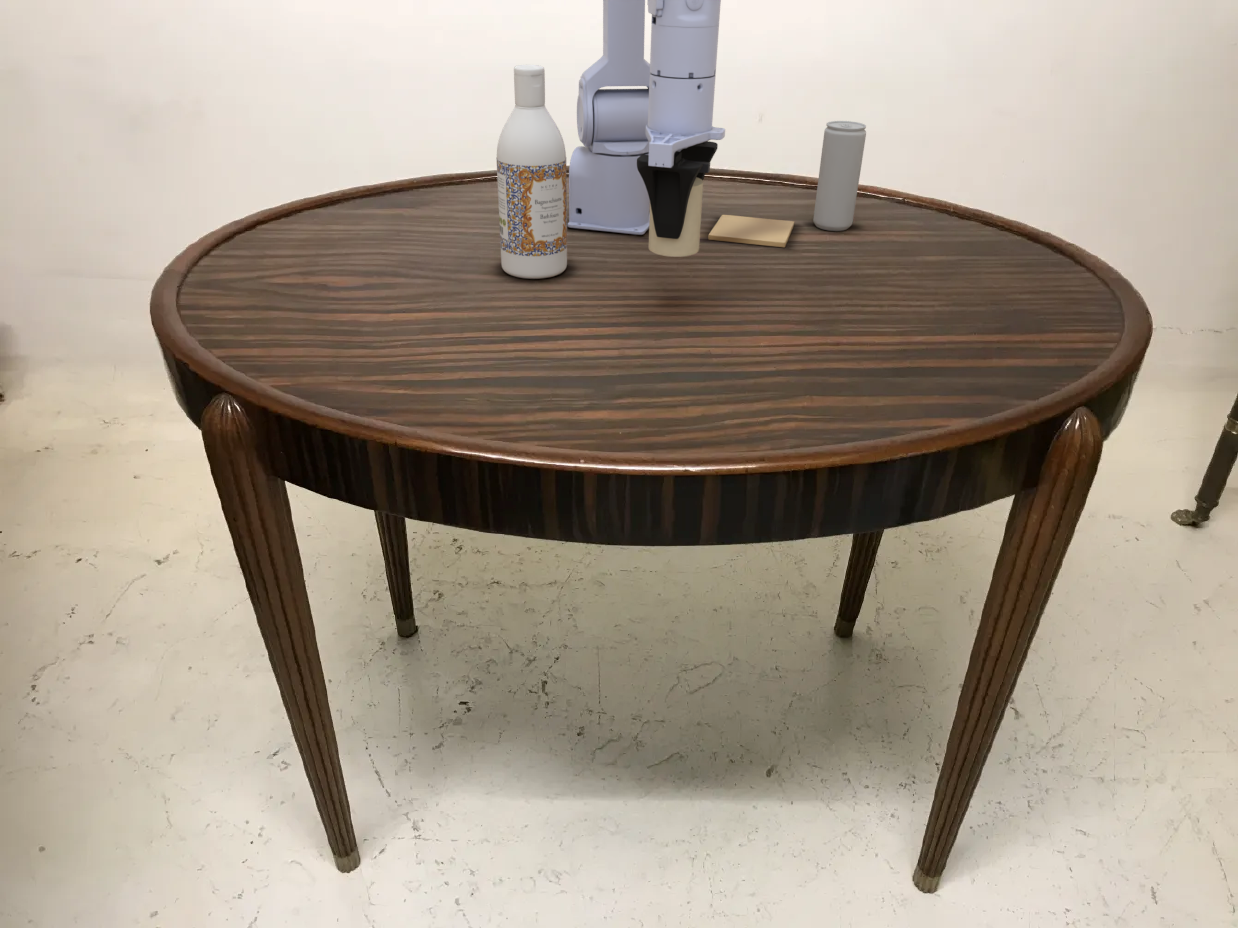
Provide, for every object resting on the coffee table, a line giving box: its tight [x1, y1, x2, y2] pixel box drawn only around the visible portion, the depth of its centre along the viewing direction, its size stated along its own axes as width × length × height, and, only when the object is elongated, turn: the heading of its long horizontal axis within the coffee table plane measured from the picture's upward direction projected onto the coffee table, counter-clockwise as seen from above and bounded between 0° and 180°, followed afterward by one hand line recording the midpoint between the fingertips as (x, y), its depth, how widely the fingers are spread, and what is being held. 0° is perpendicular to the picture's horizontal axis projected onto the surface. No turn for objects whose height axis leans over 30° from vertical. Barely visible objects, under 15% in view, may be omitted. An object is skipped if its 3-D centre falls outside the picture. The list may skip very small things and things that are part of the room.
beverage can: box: [812, 120, 867, 232], centre depth 112 cm, size 5×5×12 cm
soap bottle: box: [648, 158, 711, 258], centre depth 86 cm, size 5×5×8 cm
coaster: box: [707, 214, 795, 248], centre depth 112 cm, size 9×9×1 cm
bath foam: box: [495, 64, 568, 280], centre depth 94 cm, size 7×7×20 cm
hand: (674, 229), depth 88 cm, fingers closed on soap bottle, 5 cm apart
